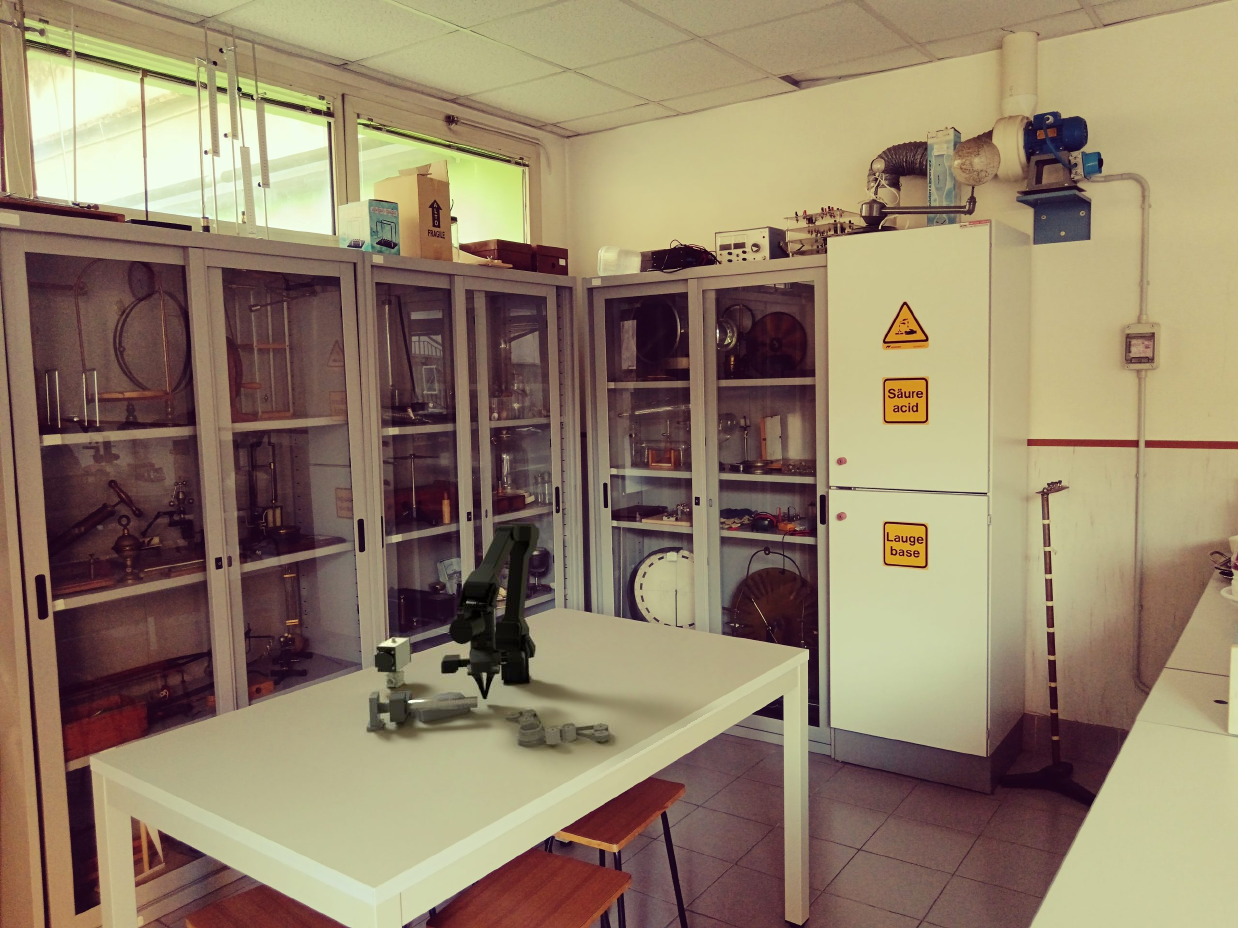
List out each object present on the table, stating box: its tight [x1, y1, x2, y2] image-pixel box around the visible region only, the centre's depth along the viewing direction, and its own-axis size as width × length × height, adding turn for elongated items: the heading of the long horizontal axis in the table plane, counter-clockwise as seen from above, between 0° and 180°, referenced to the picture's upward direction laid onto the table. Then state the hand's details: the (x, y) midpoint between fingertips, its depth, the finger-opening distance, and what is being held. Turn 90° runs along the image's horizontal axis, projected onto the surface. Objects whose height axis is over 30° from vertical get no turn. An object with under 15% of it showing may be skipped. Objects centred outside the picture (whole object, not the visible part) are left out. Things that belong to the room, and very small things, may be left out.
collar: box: [388, 690, 413, 723], centre depth 199 cm, size 3×14×5 cm, turn 7°
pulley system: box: [505, 708, 611, 748], centre depth 187 cm, size 27×5×15 cm
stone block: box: [410, 691, 471, 723], centre depth 202 cm, size 12×5×10 cm
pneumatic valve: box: [374, 636, 413, 689], centre depth 221 cm, size 6×12×12 cm, turn 168°
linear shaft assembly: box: [366, 691, 479, 732], centre depth 194 cm, size 23×5×7 cm, turn 97°
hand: (485, 698), depth 206 cm, fingers closed
